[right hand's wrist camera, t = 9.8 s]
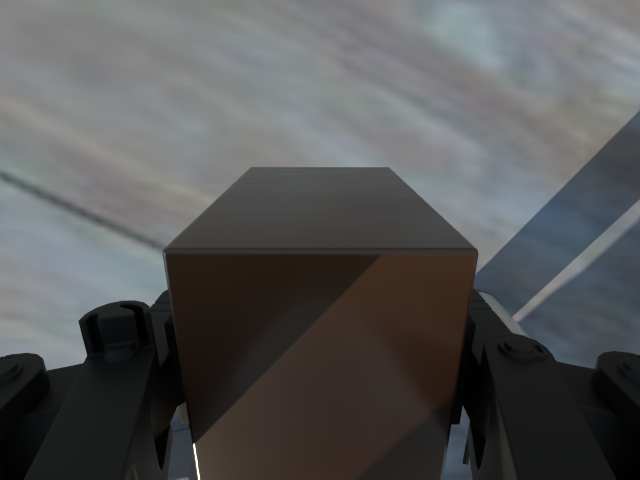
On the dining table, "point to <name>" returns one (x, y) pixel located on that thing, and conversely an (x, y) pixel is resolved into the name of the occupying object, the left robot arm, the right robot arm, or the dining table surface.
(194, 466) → the grey rubber block
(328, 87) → the dining table surface
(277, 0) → the dining table surface
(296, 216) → the walnut plank
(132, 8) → the dining table surface
